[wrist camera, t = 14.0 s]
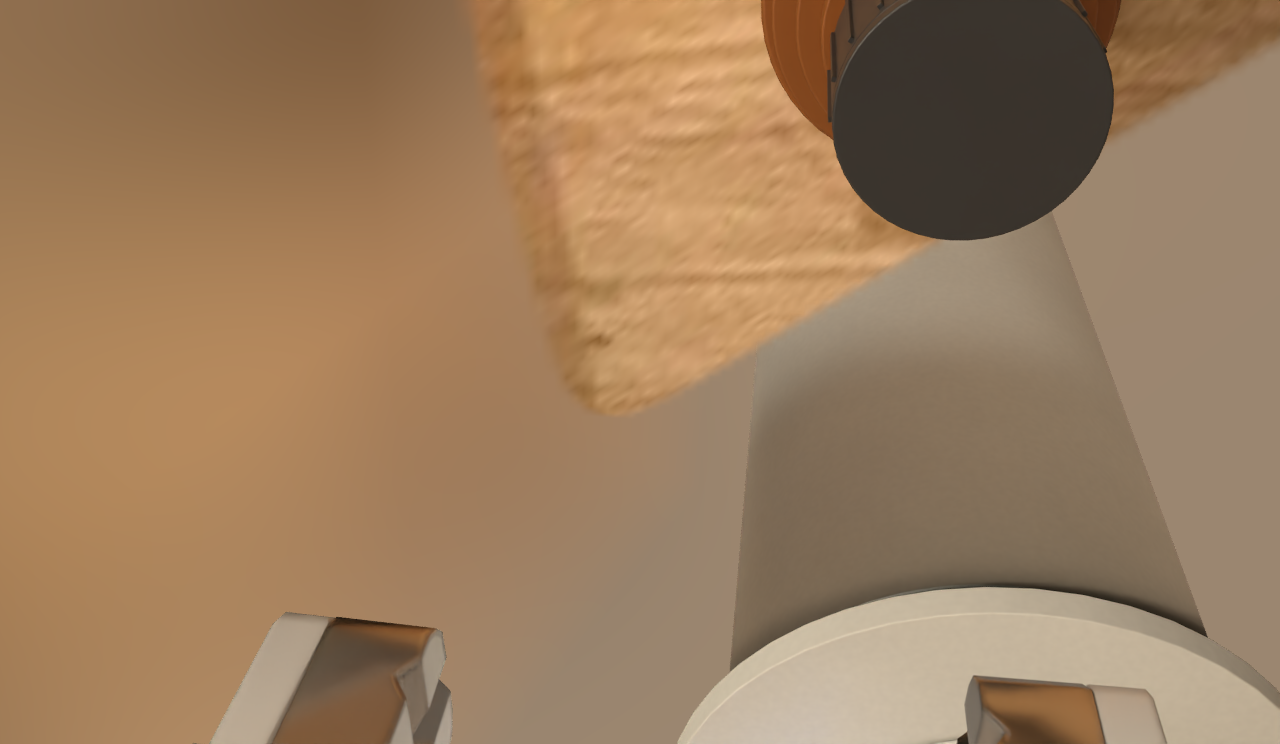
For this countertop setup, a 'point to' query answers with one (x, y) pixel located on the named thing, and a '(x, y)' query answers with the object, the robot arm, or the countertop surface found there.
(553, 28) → the countertop surface
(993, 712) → the robot arm
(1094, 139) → the cap
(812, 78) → the bottle
